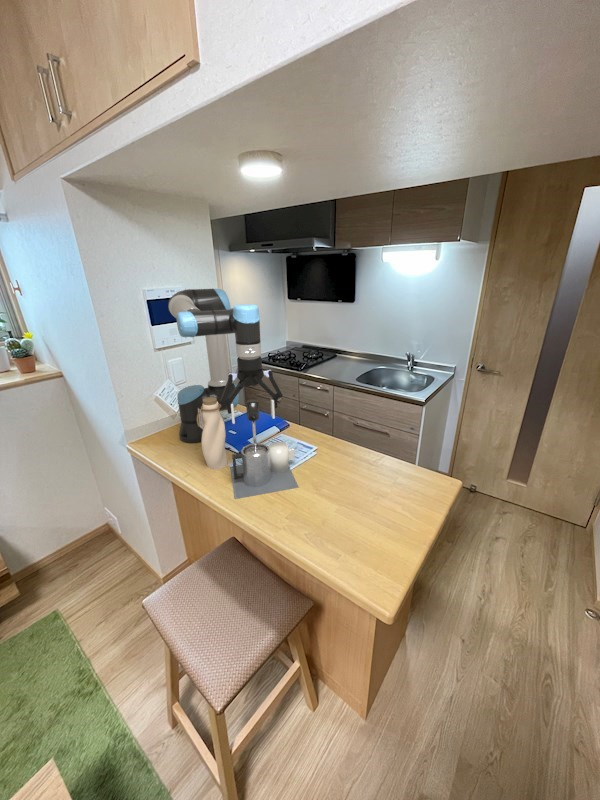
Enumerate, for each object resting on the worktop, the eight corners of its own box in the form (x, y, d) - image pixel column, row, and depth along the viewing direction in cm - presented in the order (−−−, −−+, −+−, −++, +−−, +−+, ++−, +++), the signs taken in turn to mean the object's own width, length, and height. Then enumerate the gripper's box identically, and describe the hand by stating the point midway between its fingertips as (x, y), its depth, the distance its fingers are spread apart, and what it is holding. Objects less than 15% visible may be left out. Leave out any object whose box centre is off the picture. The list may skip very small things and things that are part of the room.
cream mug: (267, 463, 123) (266, 443, 120) (292, 460, 126) (291, 439, 123) (271, 474, 116) (270, 453, 113) (297, 470, 119) (296, 449, 116)
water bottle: (213, 477, 117) (204, 407, 107) (198, 469, 122) (188, 401, 112) (234, 464, 125) (227, 398, 115) (219, 457, 130) (212, 393, 120)
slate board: (230, 468, 122) (229, 466, 122) (285, 460, 128) (285, 458, 127) (234, 501, 104) (234, 499, 104) (298, 489, 110) (298, 487, 109)
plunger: (243, 449, 113) (239, 398, 106) (264, 446, 114) (261, 396, 107) (246, 460, 106) (242, 406, 99) (268, 457, 108) (265, 404, 101)
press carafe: (233, 475, 116) (230, 446, 112) (268, 469, 120) (266, 441, 115) (236, 491, 108) (233, 460, 103) (273, 484, 111) (271, 454, 107)
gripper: (208, 362, 91) (215, 429, 99) (290, 356, 97) (292, 419, 105) (207, 356, 98) (215, 419, 106) (285, 351, 104) (286, 410, 112)
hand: (253, 419), depth 105 cm, fingers open, 12 cm apart
